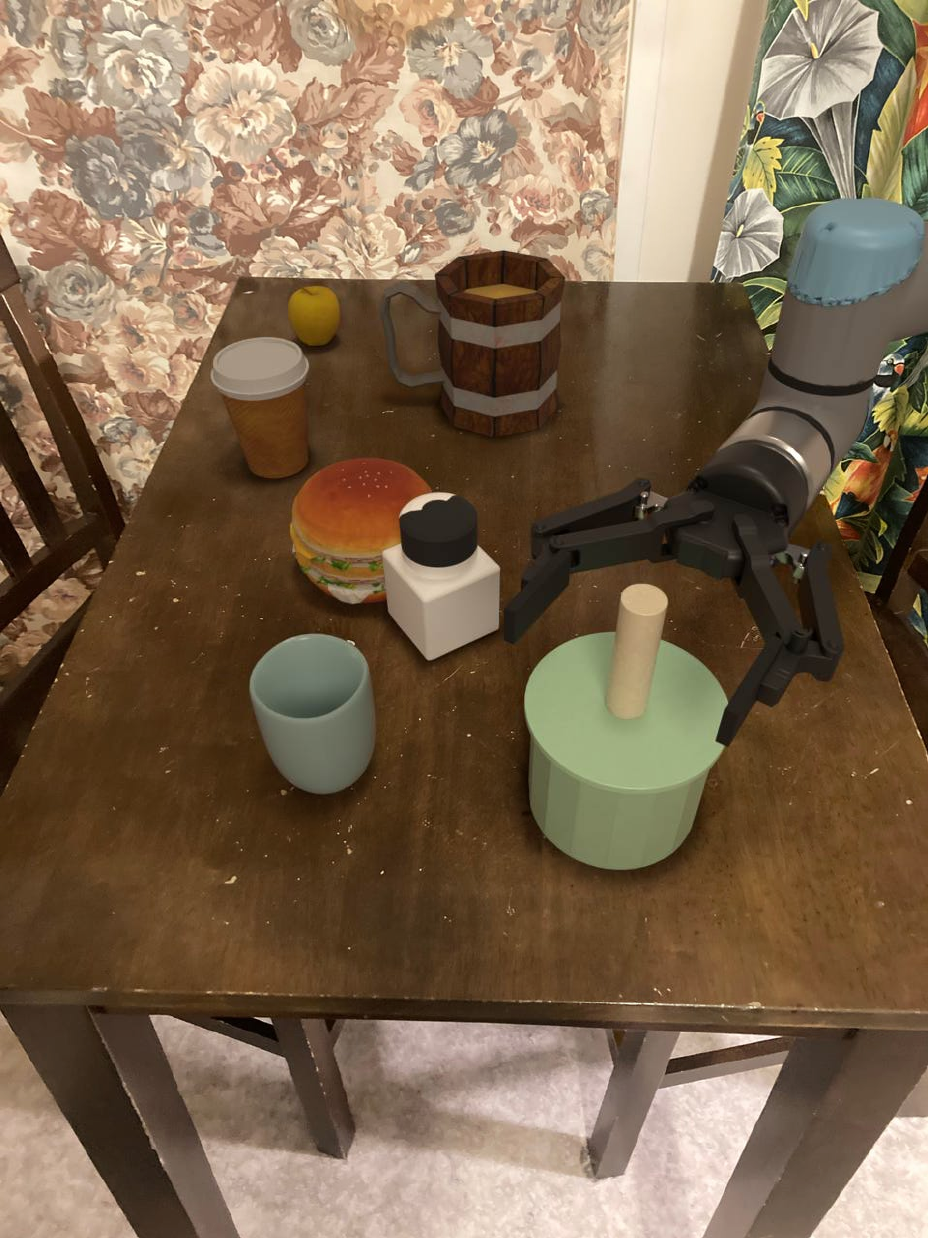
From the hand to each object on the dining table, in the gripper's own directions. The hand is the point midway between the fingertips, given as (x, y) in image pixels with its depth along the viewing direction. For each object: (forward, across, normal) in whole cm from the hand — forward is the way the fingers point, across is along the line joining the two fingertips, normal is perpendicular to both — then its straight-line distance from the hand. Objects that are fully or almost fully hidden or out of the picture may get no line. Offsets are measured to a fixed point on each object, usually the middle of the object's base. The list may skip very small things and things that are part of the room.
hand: (610, 675), depth 48 cm
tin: (-3, 0, -16) cm, 16 cm away
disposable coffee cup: (-21, +49, -16) cm, 56 cm away
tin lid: (-3, 0, -6) cm, 7 cm away
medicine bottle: (-11, +20, -16) cm, 28 cm away
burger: (-13, +30, -16) cm, 37 cm away
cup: (+6, +18, -16) cm, 25 cm away
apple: (-43, +64, -16) cm, 78 cm away
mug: (-42, +39, -16) cm, 59 cm away
